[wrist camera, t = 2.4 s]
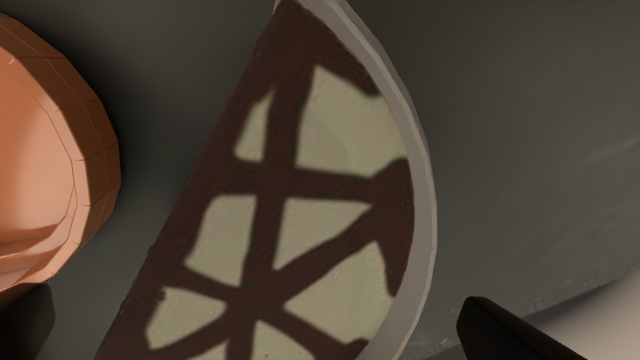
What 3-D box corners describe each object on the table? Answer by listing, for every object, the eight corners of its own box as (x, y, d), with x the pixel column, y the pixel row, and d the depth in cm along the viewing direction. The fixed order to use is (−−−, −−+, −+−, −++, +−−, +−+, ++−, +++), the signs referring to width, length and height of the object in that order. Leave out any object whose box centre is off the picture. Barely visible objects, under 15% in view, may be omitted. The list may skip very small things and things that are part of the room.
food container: (271, 288, 18) (265, 539, 9) (162, 244, 16) (8, 500, 7) (402, 94, 15) (608, 159, 6) (286, 12, 13) (307, -88, 4)
